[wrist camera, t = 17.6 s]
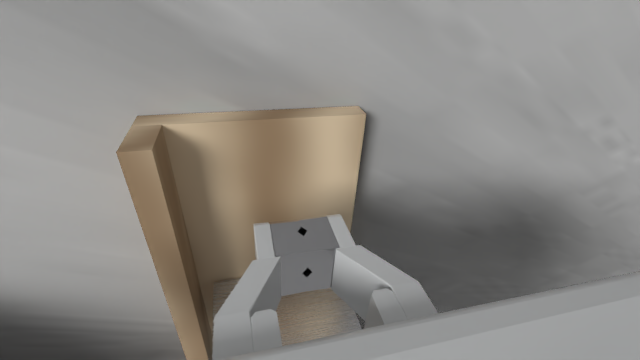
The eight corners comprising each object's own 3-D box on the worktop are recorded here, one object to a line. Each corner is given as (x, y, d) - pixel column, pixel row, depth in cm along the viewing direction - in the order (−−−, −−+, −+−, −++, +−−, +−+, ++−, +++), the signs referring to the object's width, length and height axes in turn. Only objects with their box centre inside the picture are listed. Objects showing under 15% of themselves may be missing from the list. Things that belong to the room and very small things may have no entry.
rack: (219, 408, 26) (218, 532, 20) (137, 115, 12) (63, 243, 6) (325, 381, 28) (352, 486, 22) (358, 105, 14) (447, 195, 9)
